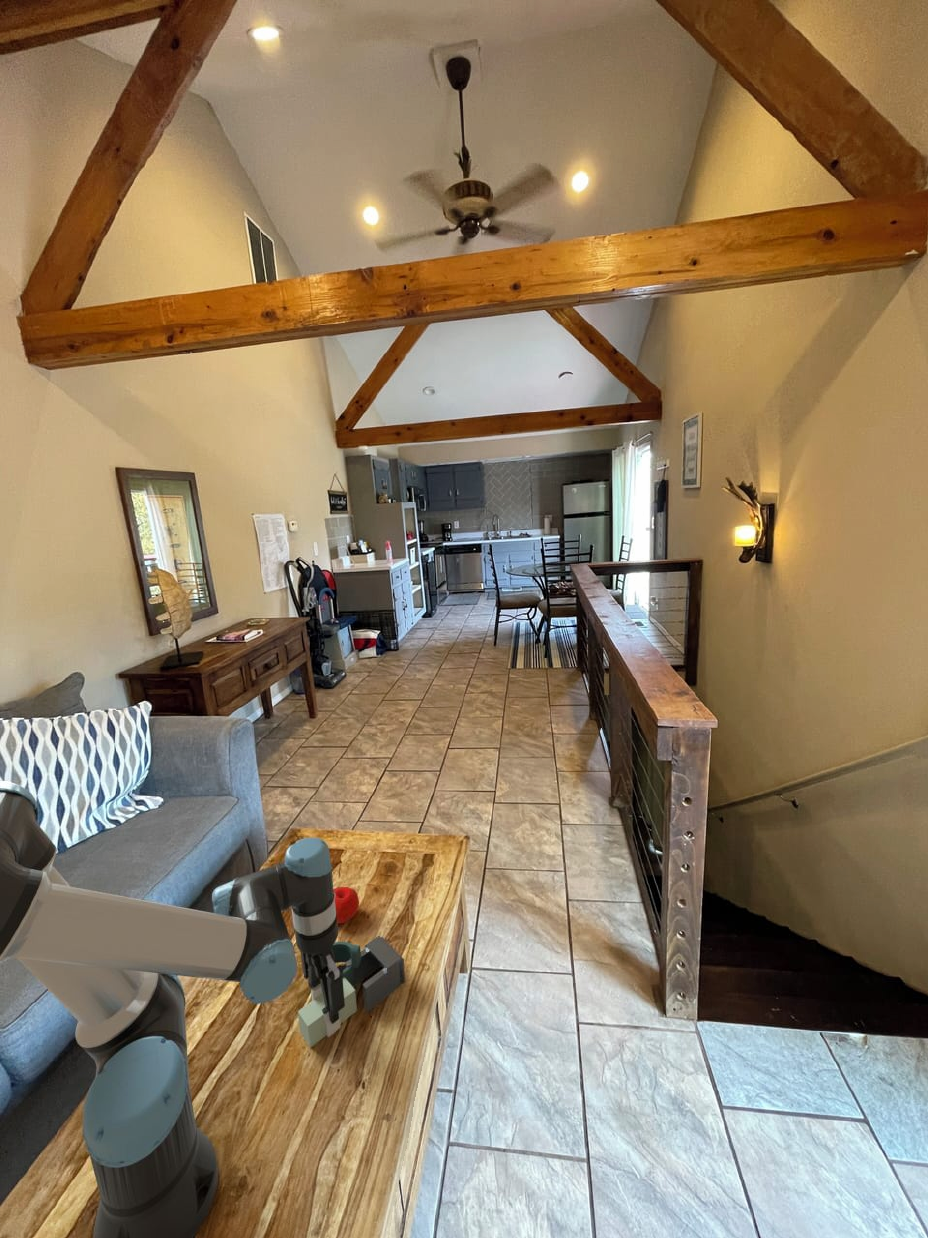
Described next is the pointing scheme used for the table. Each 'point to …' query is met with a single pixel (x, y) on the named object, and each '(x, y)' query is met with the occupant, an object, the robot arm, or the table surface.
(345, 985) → the block
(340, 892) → the apple
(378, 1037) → the table surface
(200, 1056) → the table surface
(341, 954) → the bracket
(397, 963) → the endcap
